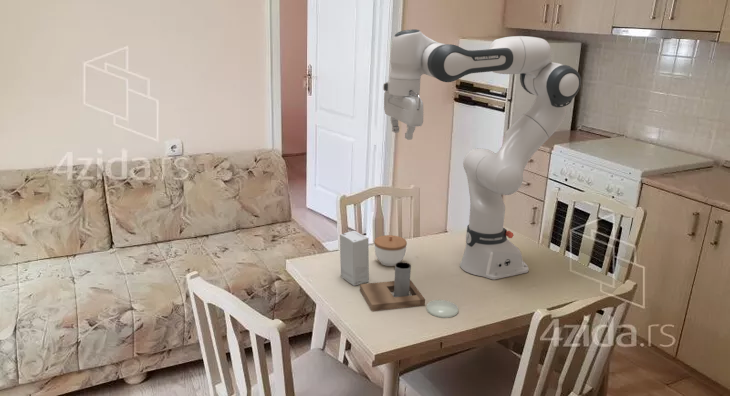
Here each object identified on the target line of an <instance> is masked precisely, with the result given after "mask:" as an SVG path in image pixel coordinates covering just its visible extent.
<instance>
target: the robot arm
mask: <svg viewBox="0 0 730 396" xmlns="http://www.w3.org/2000/svg"><path fill="white" fill-rule="evenodd" d="M394 34H395V35H394V36H393V39H392V42H391V47H390V66H391V70H390V74H389V80H388V81H387V82H384V83H383V85H382V88H383V91H384V94H383V110H384V113H385V114H386V115H387V116H389V117H390V124H391V132H393V133H399V132H400V126H399V122H401V123H403V124H406V128H407V129H406V132H405V133H404V138H405V139H406V140H408V141H409V140H413V138H414V132H415V131H416V127H422V125H423V124H424V102H423V100H422V98H421V97H420V93H421V92H420V91H421V80H422V79H421V77H422V76H423V75H427V76H428V77H432V78H435V79H437V80H438V81H441V82H444V83H453V82H456V81H458V80H459V79H461V78H463V77H465V76H467V75H470V74H478V73H479V74H480V73H488V72H489V73H490V72H492V73H494V74H499V75H501V74H502V75H519V82H520V86H521V87H522V89H524V91H526V92H527V93H529V94H531V95H535V99H534V101H533V103H532V104H531V106H530V107H529V108H528V109H527V110H526V111H525V112H524V113H523V114H522V115H521V116H520V117H518V119H517V120H516V121H515V122H513V124H512V125H511V126H510V127H509V128H508V129H507V130H506V132H505V133H504V135H503V136H504V140H503V141H504V142H503V143H502V145H501V147H500V148H499V149H498V151H497V152H494V151H492V150H490V149H486V148H473V149H471V150H470V151H468V152H467V153H466V155H465V156H464V159H463V162H462V164H463V166H462V167H463V170H464V172H465V175H466V177H467V178H466V179H467V186H468V191H469V201H470V203H469V204H470V205H469V207H470V208H469V215H468V216H469V219H468V225H467V228H466V235H465V249H464V252H463V255H462V258H461V261H460V263H459V267H460V268H461V269H462V270H463V271H465V272H467V273H468V274H471V275H474V276H479V277H484V278H487V279H490V280H498V279H503V278H508V277H512V276H517V275H521V274H526V273H528V272H529V265H528V264H527V263H526V262H525V261H524V260H523V256H522V252H521V250H520V248H518V247H517V246H516V245H515V244H514V243H513V242H512V241H510V240H509V239H512V238H513V237H514V235H515V234H514V232H512V231H510V230H507V229H506V228H505V227H504V222H505V213H506V205H505V202H504V199H503V196H510V195H512V194H515V193H517V191H519V190H520V188H521V186H522V185H523V181H524V171H525V168H526V166H527V164H528V162H529V161H530V159H531V158H532V157H533V155H534V154H535V153H536V152H537V151H538V150H539V149H540V148H541V147H542V146H543V145H544V144H545V143H546V142H547V141H548V140H549V139H550V138H551V137H552V135H553V134H555V132H556V131H557V130H558V128H559V127H560V126H561V125H562V123H563V122H564V121H565V118H566V116H567V108H566V106H568V105H569V104H571V103H572V101H573V99H574V98H575V97H576V96H577V94H578V93H579V91H580V88H581V84H582V78H581V75H580V73H579V72H578V70H577V69H575V68H573V67H572V66H570V65H566V64H563V63H559V62H553V61H552V58H551V57H552V47H551V45H550V43H549V42H548V40H546V39H544V38H541V37H536V36H525V35H516V36H505V37H501V38H497V39H494V40H492V42H491V43H490V45H489V47H488V48H483V49H464V48H462V47H461V46H459V45H456V44H449V43H448V44H447V43H443V42H442V43H441V42H438V41H436V40H433V39H432V38H430V37H428V36H427V35H425V34H424V33H423V31H421V30H420V29H413V28H412V29H406V30H400V31H398V32H396V33H394Z"/></svg>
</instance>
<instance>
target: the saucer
mask: <svg viewBox="0 0 730 396" xmlns="http://www.w3.org/2000/svg"><path fill="white" fill-rule="evenodd" d="M426 311H427V313H428V314H430V315H431V316H433V317H436V318H440V319H450V318H453V317H455V316H457V315H458V314H459V307H458V305H457V304H455V303H454V302H453V301H450V300H445V299H434V300H431V301H428V303H427V304H426Z"/></svg>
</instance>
